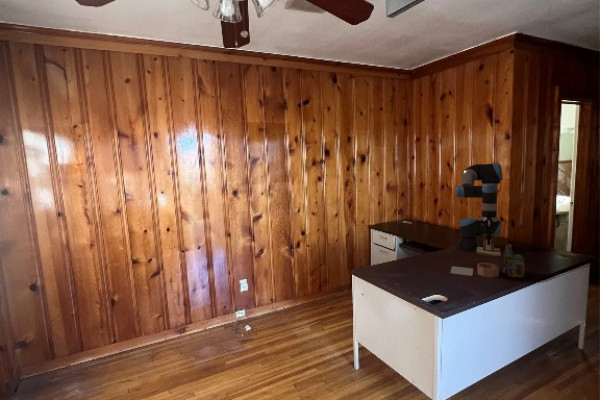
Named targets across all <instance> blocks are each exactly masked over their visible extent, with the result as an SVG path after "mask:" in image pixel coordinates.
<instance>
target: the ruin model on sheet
mask: <svg viewBox="0 0 600 400" xmlns="http://www.w3.org/2000/svg"><path fill="white" fill-rule="evenodd" d="M512 246H513V245H512V244H511V243H507V244H506V245H505V248H504V254H512V252H511V250H512V251H513V249H512Z"/></svg>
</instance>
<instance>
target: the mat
mask: <svg viewBox="0 0 600 400" xmlns="http://www.w3.org/2000/svg"><path fill="white" fill-rule="evenodd" d="M473 273H474V268H471V267H470V268H469V267H460V266H451V269H450V272H449V274H454V275H462V276H463V275H464V276H471V277H472V276H473Z"/></svg>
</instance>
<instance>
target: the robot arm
mask: <svg viewBox="0 0 600 400" xmlns="http://www.w3.org/2000/svg"><path fill="white" fill-rule="evenodd" d="M502 169H503V168H502V165H501V164H500V163H479V164H478V163H477V164H472V165H469V166H468V167H466V168H465V169H463V171H462V174H461V184H460V185H457V186H455V187H456V188H455V196H456V197H457V198H462V199H466V198H468V199H470V198H471V199H472V198H473V199H476V198H477V199H480V198H481V204H480V206H481V209H482V210H481V217H480V220H479V218H477V217H467V218H463V219H461V220H460V223H459V227H460V228H459V231H460V233H459V241H458V242H457V249H459V250H461V251H464V252H465V251H466V252H477V247H481V246H480V242H479V240H478V237H483V234H486V238H485V239H486V250H491V235H494V238H498V237H499V236H500V234H501V230H502V221H501V220H500V218H499V217H498V195H499V193H498V189H499V188H498V187H499V184H501V181H503V180H504V178H503V170H502ZM475 181H481V184H482V185H475Z"/></svg>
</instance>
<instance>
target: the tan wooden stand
mask: <svg viewBox="0 0 600 400" xmlns="http://www.w3.org/2000/svg"><path fill="white" fill-rule="evenodd" d="M482 237H483V238H482V246H480V247H477V251H476V255H483V256H493V257H494V256H495V257H501V255H502V254H501V248H497V247H495V237H494V235H491V250H486V239H485V238H486V234H483V236H482Z"/></svg>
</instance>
